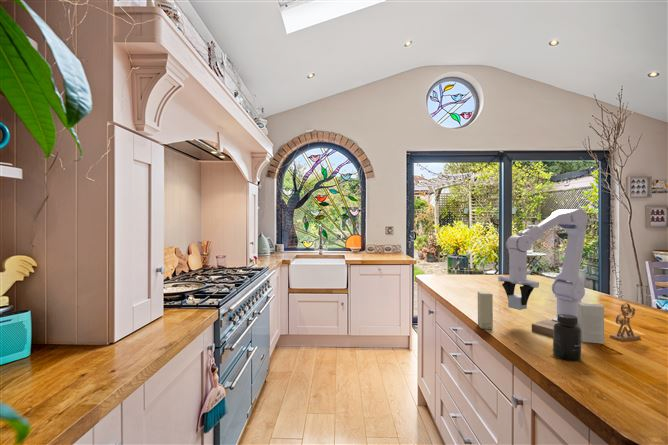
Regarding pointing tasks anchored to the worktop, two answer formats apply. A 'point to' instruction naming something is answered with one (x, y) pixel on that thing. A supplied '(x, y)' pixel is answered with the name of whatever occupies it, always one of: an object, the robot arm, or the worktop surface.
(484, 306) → the box
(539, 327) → the walnut block
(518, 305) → the slate cube
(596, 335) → the skincare box
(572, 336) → the supplement bottle
